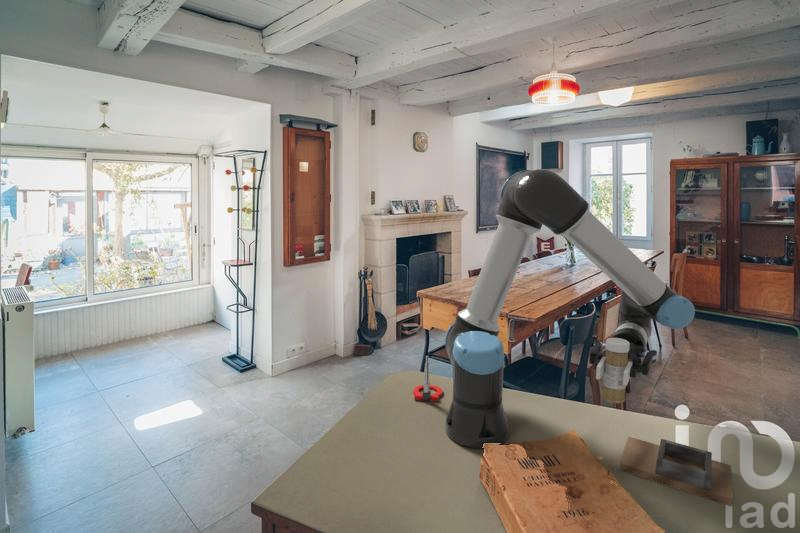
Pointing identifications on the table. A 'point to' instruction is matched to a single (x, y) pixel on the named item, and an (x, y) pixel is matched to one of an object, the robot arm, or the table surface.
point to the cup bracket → (679, 468)
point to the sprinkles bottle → (615, 369)
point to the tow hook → (427, 388)
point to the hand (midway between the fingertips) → (611, 375)
